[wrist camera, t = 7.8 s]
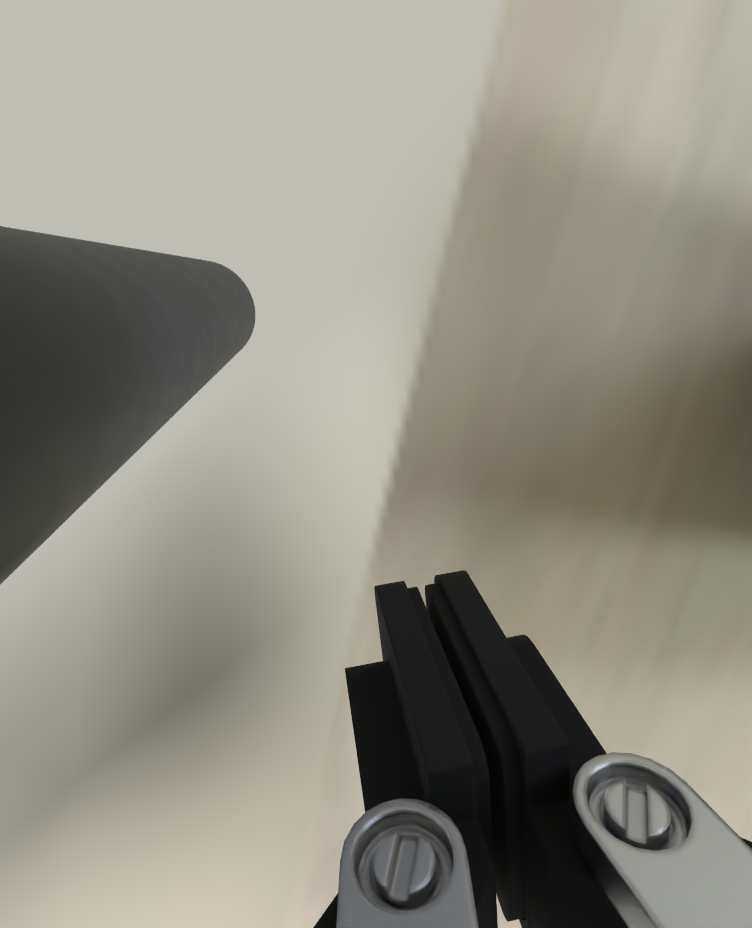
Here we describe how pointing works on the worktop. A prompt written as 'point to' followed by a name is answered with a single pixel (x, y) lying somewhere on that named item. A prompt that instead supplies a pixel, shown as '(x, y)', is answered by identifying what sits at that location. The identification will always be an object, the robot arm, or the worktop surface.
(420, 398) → the worktop surface
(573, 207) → the worktop surface
